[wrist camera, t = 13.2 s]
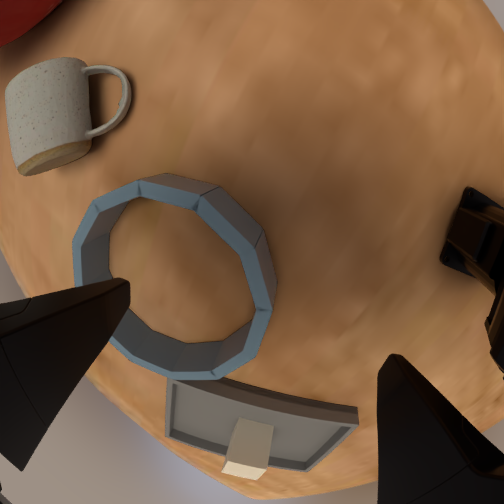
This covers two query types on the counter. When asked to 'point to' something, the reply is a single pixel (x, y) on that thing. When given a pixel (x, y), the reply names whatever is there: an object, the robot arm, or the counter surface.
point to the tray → (256, 420)
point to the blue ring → (229, 229)
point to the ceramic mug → (55, 113)
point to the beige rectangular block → (248, 449)
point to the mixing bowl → (22, 16)
